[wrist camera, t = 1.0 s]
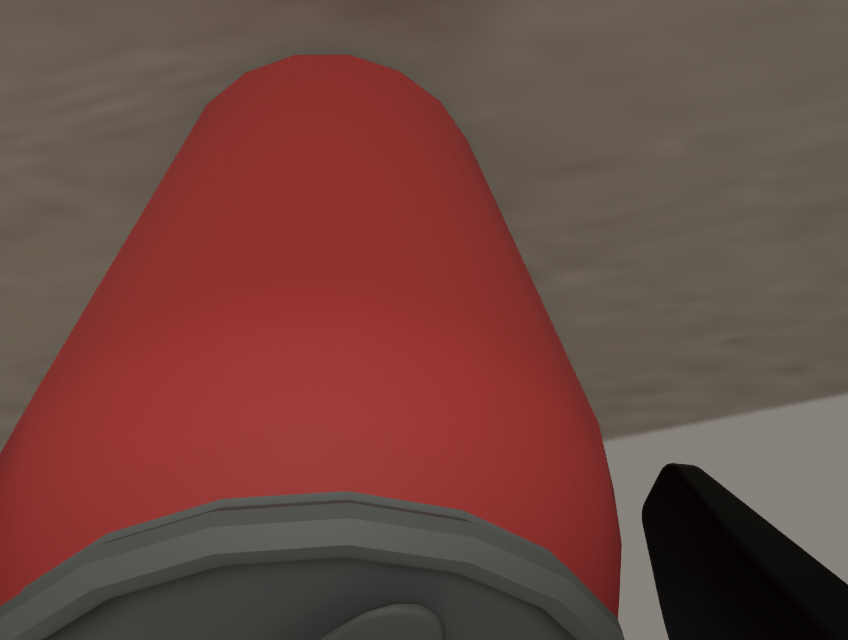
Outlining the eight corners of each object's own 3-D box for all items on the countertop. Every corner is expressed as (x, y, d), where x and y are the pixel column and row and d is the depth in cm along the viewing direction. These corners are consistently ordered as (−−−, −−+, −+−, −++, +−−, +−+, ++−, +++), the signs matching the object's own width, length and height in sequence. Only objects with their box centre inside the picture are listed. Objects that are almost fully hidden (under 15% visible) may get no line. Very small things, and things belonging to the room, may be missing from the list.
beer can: (530, 132, 16) (875, 612, 5) (396, 355, 18) (461, 938, 8) (243, -17, 13) (-65, 317, 3) (144, 261, 16) (-182, 892, 6)
